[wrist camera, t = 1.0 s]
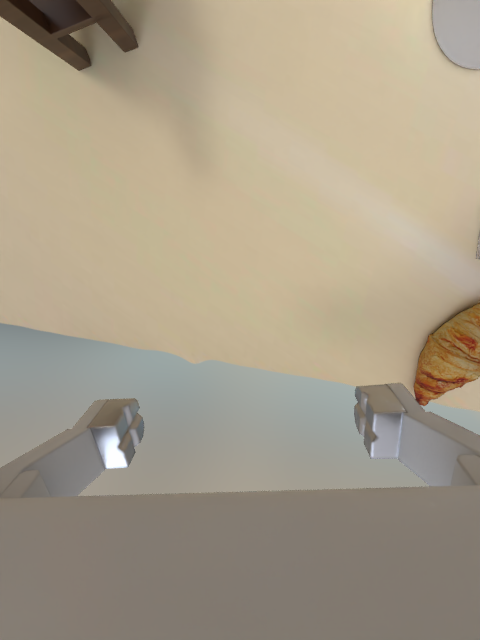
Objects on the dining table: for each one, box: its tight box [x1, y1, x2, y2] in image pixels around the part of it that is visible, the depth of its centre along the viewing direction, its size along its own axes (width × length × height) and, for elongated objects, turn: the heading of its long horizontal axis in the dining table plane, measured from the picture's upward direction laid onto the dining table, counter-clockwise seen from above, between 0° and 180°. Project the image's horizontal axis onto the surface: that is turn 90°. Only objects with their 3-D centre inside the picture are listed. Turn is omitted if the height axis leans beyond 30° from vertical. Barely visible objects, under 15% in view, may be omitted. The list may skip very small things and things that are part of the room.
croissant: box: [414, 303, 480, 406], centre depth 51 cm, size 21×10×8 cm, turn 162°
